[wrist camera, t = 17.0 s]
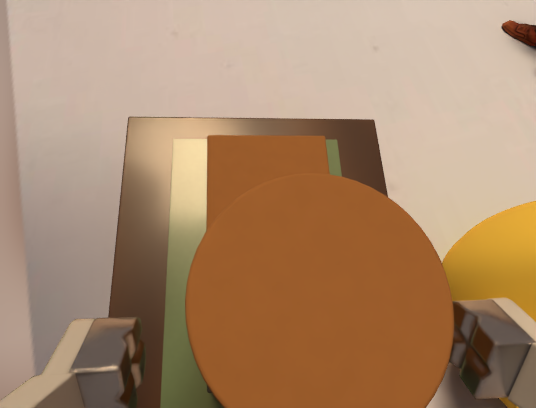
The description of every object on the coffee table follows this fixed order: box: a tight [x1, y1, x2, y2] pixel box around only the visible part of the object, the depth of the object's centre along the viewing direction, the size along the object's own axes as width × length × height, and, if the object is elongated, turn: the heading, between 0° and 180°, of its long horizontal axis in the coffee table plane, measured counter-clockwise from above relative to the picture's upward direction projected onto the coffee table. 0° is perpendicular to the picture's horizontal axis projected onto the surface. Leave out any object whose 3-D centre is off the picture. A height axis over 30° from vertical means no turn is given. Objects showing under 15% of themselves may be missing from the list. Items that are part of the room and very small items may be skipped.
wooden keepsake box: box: [108, 117, 388, 408], centre depth 20 cm, size 14×18×6 cm
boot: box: [185, 135, 454, 408], centre depth 12 cm, size 5×10×11 cm, turn 3°
